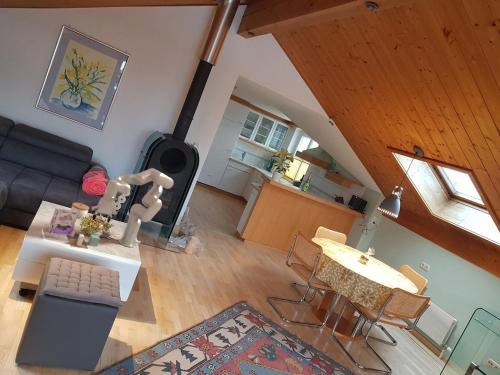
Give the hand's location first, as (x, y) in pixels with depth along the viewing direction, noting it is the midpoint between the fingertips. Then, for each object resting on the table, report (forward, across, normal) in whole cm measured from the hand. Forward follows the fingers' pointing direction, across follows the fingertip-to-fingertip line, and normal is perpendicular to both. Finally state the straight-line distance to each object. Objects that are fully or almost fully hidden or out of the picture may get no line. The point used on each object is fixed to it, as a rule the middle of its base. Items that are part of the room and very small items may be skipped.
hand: (100, 220), depth 263 cm
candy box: (+18, +20, -13) cm, 30 cm away
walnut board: (+18, +10, -1) cm, 21 cm away
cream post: (+18, +10, +4) cm, 21 cm away
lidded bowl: (+18, +1, -52) cm, 55 cm away
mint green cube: (+18, 0, 0) cm, 18 cm away
